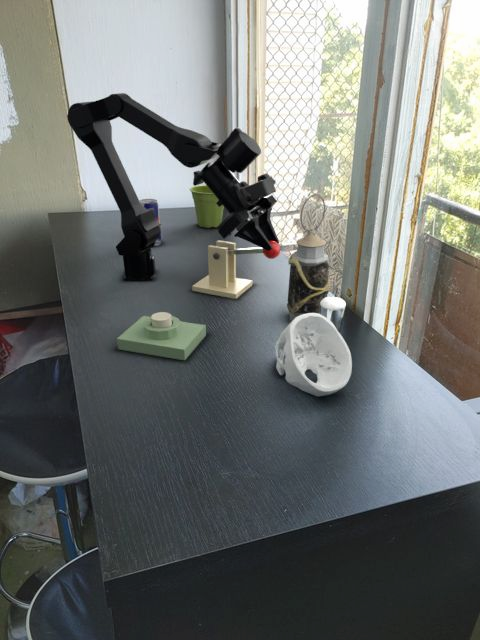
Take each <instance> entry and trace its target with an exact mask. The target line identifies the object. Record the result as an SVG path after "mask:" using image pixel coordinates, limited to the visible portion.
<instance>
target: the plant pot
mask: <svg viewBox="0 0 480 640" xmlns="http://www.w3.org/2000/svg"><path fill="white" fill-rule="evenodd" d="M189 191H190V192H191V197H192V199H193V204H194V210H195V215H196V221H197V225H198V226H199V227H201V228H204V229H205V228H206V229H210V228H218V226H219V225H220V224H221V223H222V222H223V215H224V214H223V213H224V209H225V207H224V206H223V205H222V206H220V207H219V206H218V205H217V204H216V203H217V202H218V201H219V200H218V199H217V198H216V196H215V195H214V194H213V193H212V191H211V190H210V189H209V188H208V186H207V185H206V184H203V185H202V184H200V185H196V186H194V185H193V186H190V187H189Z"/></svg>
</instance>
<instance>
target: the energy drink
mask: <svg viewBox="0 0 480 640" xmlns="http://www.w3.org/2000/svg"><path fill="white" fill-rule="evenodd" d="M139 201H140V203H141V205H142V206H143V207H144V208H146V209H147V210H150V209H153V210H154V212H155V215H156V218H157V220H158V221H159V222H160V223H161V221H160V219H161V218H160V205H159V202H158V200H157V199H155V198H142V199H140V200H139ZM159 227H160V228H161V225H160V226H159ZM161 234H162V232H161V233H160V236H159V238H158V240H157V241H156V242H155V246H154V247H159V246H160V245H161V244H162V235H161Z"/></svg>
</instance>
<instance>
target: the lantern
mask: <svg viewBox="0 0 480 640" xmlns="http://www.w3.org/2000/svg"><path fill="white" fill-rule="evenodd" d="M314 196H317V197H319V198H320V199H321V201H322V204H323V213H322V217H321V220H320V222H319V223H318V224H317V226H316V227H314V228H310V229H307V228H306V227H305V226H304V224H303V223H304V222H303V212H304V209H305V206H306V204H307V202H308V201H309V200H310V199H311V198H312V197H314ZM325 202H326V201H325V200H324V198H323V197H322V195H320V194H317V193H314V194H311V195H309V196H308V198H306V199H305V201H304V202H303V204H302V206H301V207H302V208H301V211H300V224H301V226H302V229H304V231H306V232H307V234H306V235H304V236H303V237H301V238H299V239H297V240H296V241H295V243H296V244H297V249H296V251H294V252H293V253H292V254H291V255H290V256H289V258H288V262H287V263H288V265H289V278H288V279H289V280H288V290H287V303H286V308H287V311H288V313H289V321H290V322H292V321H293V320H294V319H295V318H296V317H297V316H300V315H303V314H307V313H318V314H320V302H321V301H322V300H323V299H324V298H326V297H328V294H329V292H330V288H328V287H329V286H330V282H331V281H330V271H329V268H330V265H329V263H328V261H329V260H330V258H329V256H328V254H326V253H325V245H326V244H327V241H325V240H324V239H322V238H320V237H319V236H318V235H317V234H316V231H315V230H317V229H318V228H319V227H320V226H321V224H322V222H323V221H324V218H325V214H326V203H325ZM320 315H321V314H320Z"/></svg>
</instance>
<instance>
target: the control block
mask: <svg viewBox="0 0 480 640" xmlns="http://www.w3.org/2000/svg"><path fill="white" fill-rule="evenodd" d="M171 319H172V325H171V326H169V327H166V328H154V327H152V322H151V316H147V315H142V316H141V317H140V318H139V319H138V320H137V321H136V322H134V323H133V324H132V325H130V326H129V327H128V329H126V330H125V331H123V333H121V334H120V335H119V336H118V337H117V338H116V343H117V350H119V351H120V350H121V351H125V352H126V351H127V352H133V353H138V354H145V355H149V356H155V357H156V356H157V357H161V358H162V357H163V358H169V359H174V360H179V361H186V360H187V359H188V357H189V356H191V354H192V353H193V352H194V350H195V349H196V348H197V347H198V346H199V345H200V344H201V342H202V341H203V340H204V338H205V337H206V336H207V328H206V327H207V326H206V324H200V323H192V322H187V321H181V320H180V319H179V318H178V317H176V316H173V315H171Z"/></svg>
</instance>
